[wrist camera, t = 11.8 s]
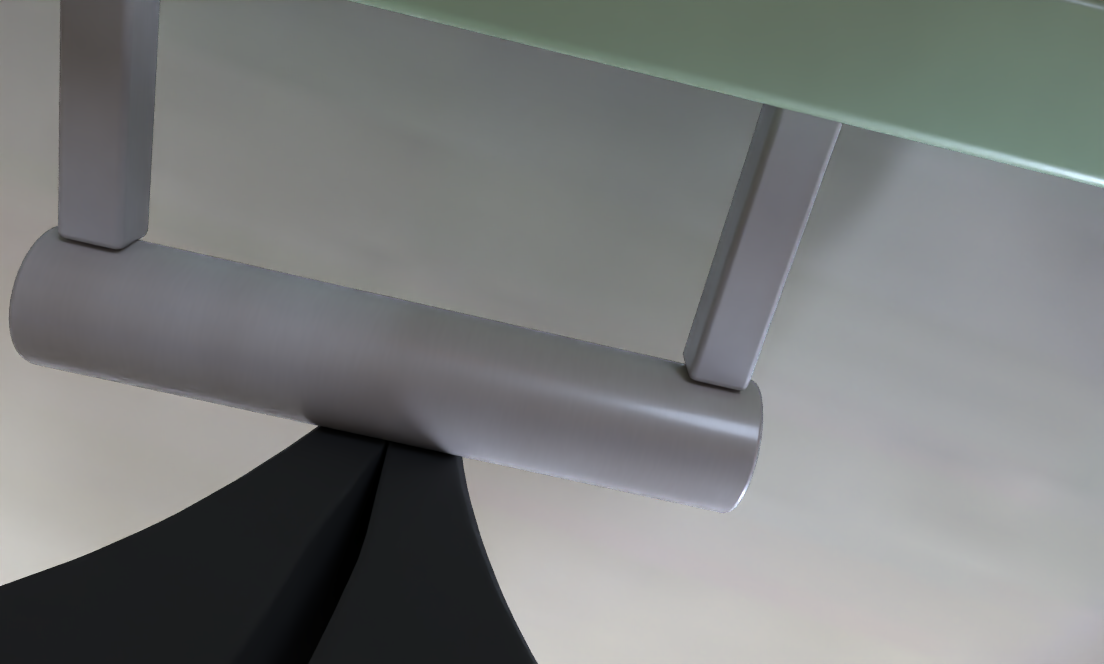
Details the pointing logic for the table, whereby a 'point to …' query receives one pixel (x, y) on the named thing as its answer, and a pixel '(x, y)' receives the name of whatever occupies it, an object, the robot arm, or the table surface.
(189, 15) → the table surface
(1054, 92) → the drawer
